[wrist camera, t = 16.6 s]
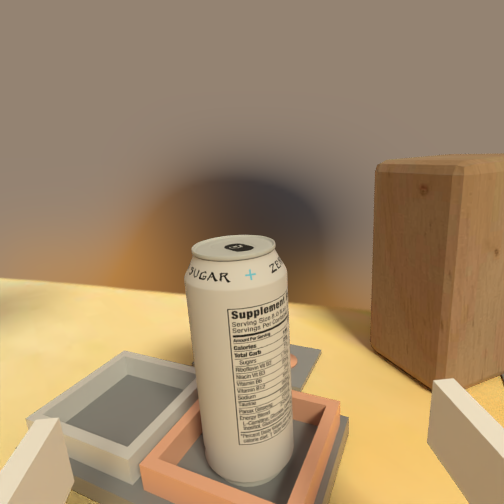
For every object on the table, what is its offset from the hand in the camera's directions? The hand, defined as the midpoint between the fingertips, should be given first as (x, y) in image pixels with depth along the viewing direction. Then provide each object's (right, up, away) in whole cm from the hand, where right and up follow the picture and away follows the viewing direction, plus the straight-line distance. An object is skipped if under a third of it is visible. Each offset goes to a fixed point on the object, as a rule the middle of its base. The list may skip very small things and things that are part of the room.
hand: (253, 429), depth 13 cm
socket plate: (-5, -9, +15) cm, 18 cm away
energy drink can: (0, -8, +12) cm, 15 cm away
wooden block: (+19, -5, +24) cm, 31 cm away
